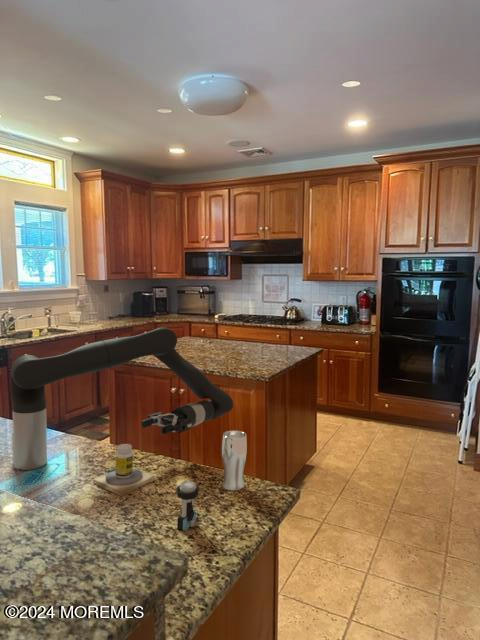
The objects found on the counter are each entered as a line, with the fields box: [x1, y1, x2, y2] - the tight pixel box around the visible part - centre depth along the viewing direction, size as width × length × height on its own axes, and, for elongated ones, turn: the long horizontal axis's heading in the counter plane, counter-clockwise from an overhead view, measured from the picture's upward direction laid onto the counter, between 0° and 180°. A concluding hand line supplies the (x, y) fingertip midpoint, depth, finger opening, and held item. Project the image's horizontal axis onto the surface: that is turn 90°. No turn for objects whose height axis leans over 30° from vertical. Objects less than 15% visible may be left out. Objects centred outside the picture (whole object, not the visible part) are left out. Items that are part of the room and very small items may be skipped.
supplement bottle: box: [115, 443, 134, 478], centre depth 124 cm, size 5×5×8 cm
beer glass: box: [221, 430, 248, 492], centre depth 123 cm, size 7×7×15 cm
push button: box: [176, 480, 200, 531], centre depth 104 cm, size 7×5×10 cm
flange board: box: [92, 467, 156, 497], centre depth 125 cm, size 12×12×2 cm
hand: (152, 427), depth 132 cm, fingers open, 8 cm apart
